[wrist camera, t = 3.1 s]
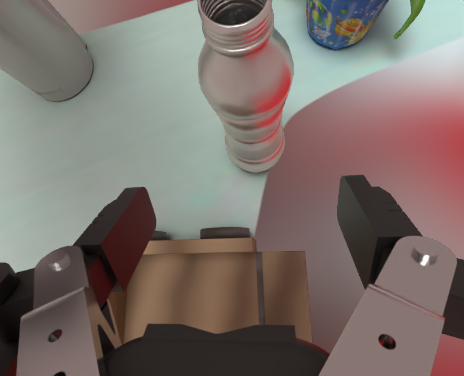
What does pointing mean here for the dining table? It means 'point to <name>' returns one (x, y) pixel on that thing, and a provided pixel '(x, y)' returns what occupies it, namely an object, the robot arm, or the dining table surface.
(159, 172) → the dining table surface
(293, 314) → the tray
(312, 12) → the snack cup
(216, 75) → the grey ridged cylindrical piece
